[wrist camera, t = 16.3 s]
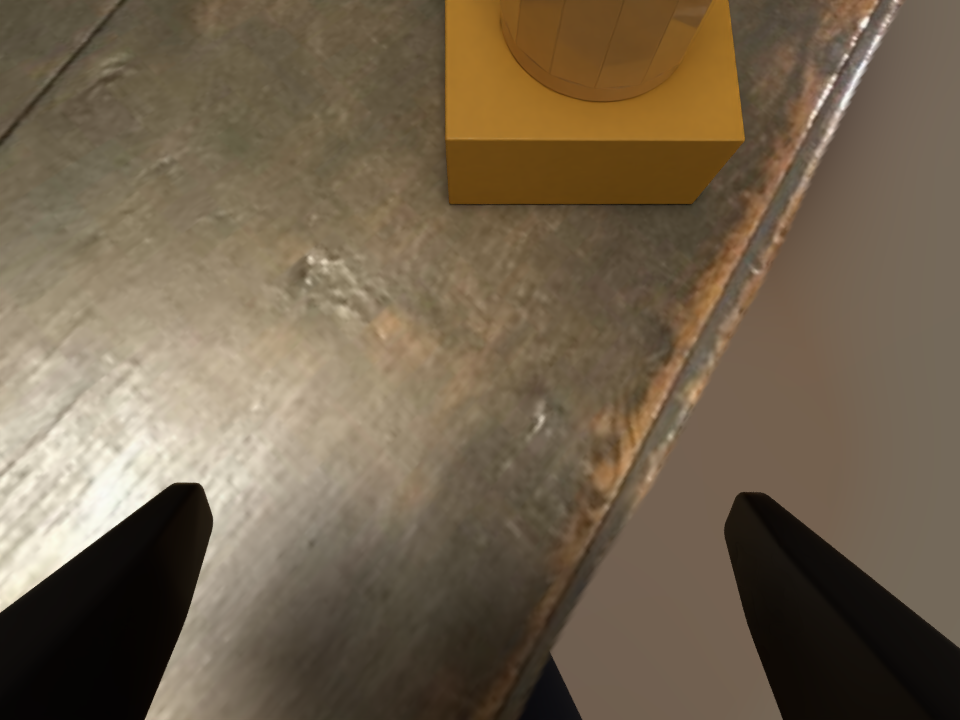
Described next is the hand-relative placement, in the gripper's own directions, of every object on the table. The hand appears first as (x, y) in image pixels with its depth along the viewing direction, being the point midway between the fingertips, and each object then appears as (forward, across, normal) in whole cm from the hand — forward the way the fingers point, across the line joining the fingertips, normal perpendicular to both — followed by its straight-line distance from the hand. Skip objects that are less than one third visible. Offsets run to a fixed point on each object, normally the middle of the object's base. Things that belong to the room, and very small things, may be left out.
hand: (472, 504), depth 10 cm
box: (+22, -4, -3) cm, 23 cm away
